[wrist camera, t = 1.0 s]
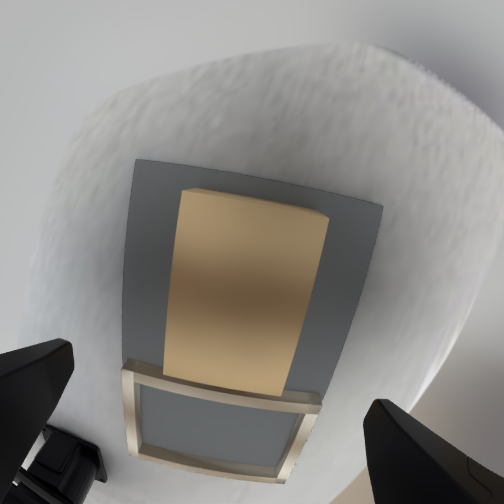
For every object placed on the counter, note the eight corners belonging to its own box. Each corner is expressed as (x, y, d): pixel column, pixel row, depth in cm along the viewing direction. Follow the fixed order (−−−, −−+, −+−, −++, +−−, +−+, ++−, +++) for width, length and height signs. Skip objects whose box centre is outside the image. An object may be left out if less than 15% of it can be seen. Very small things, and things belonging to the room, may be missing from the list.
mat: (285, 474, 21) (285, 478, 20) (131, 446, 20) (129, 450, 20) (380, 204, 15) (383, 206, 15) (139, 159, 15) (135, 159, 15)
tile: (278, 363, 17) (281, 396, 14) (176, 345, 17) (162, 374, 14) (316, 210, 15) (329, 218, 12) (196, 187, 15) (182, 190, 12)
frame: (283, 472, 20) (284, 483, 19) (133, 445, 20) (129, 455, 19) (319, 393, 18) (322, 405, 17) (128, 358, 18) (121, 368, 16)
